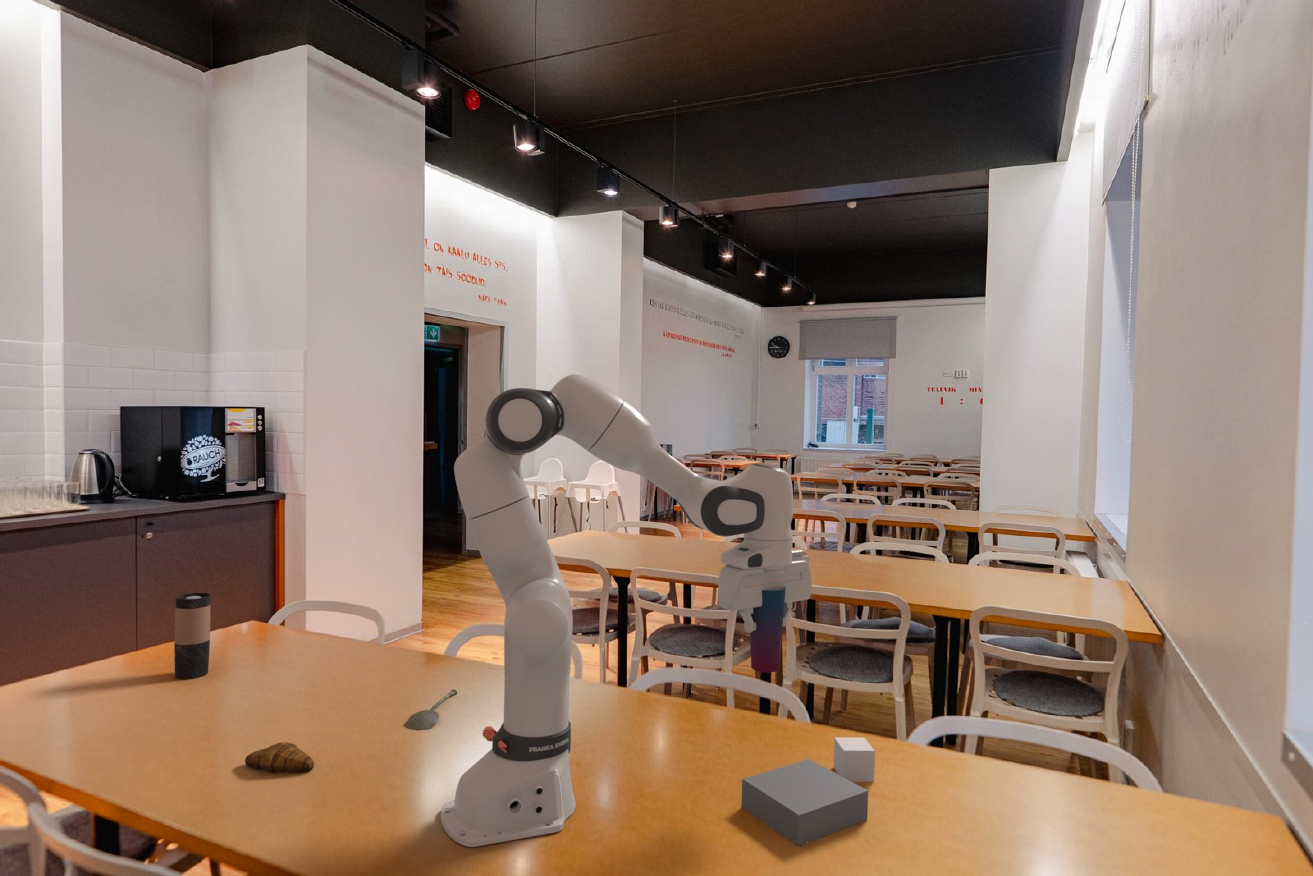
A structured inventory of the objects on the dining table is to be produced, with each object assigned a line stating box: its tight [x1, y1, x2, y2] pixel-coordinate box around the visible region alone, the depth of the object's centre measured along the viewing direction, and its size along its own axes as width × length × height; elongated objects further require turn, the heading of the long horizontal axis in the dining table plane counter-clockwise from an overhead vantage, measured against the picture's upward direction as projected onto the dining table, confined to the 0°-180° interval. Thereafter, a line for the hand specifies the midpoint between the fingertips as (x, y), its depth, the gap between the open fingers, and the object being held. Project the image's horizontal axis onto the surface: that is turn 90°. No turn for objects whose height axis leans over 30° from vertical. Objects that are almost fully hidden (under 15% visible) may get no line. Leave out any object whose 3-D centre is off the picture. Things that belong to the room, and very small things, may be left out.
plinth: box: [740, 758, 869, 847], centre depth 127 cm, size 16×14×5 cm
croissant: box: [244, 741, 315, 774], centre depth 138 cm, size 14×7×5 cm, turn 82°
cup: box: [749, 587, 786, 674], centre depth 135 cm, size 7×7×15 cm
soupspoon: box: [405, 689, 458, 731], centre depth 168 cm, size 22×3×7 cm
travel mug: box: [173, 592, 211, 680], centre depth 187 cm, size 8×8×20 cm
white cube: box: [833, 737, 876, 783], centre depth 142 cm, size 6×6×6 cm
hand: (765, 628), depth 135 cm, fingers closed on cup, 6 cm apart
